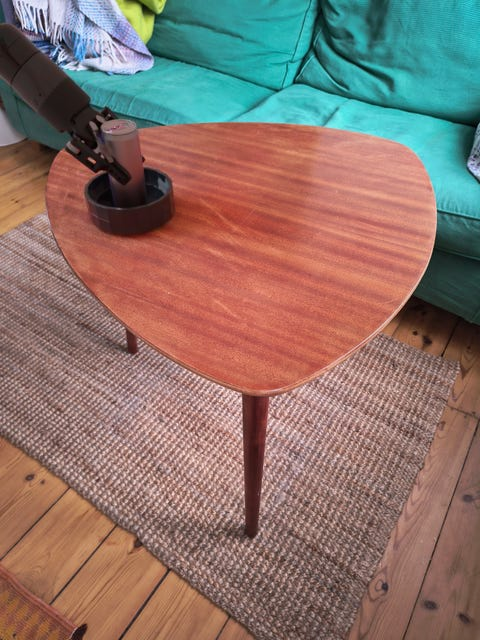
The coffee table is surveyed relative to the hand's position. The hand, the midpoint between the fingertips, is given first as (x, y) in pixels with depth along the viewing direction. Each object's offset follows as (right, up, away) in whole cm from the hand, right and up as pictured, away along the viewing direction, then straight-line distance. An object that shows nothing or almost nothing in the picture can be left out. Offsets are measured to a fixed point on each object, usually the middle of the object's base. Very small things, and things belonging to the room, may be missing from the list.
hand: (135, 172), depth 79 cm
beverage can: (-2, -5, +5) cm, 8 cm away
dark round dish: (-2, -6, +6) cm, 8 cm away
